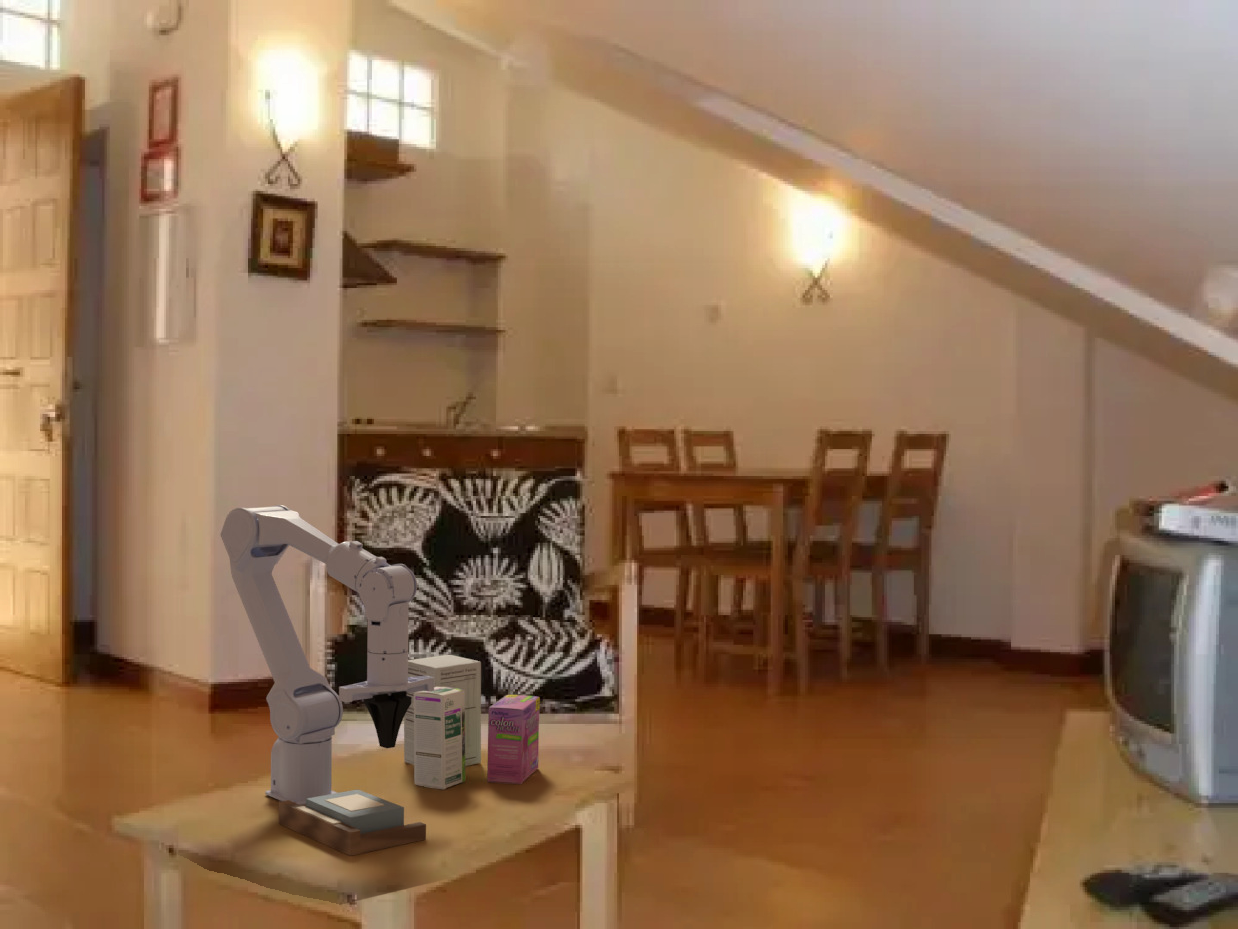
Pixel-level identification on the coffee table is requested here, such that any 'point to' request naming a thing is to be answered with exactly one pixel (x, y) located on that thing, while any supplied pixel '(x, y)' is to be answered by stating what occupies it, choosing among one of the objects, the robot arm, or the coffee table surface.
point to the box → (513, 739)
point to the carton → (359, 810)
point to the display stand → (345, 830)
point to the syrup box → (439, 737)
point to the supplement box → (457, 676)
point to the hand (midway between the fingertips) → (387, 746)
